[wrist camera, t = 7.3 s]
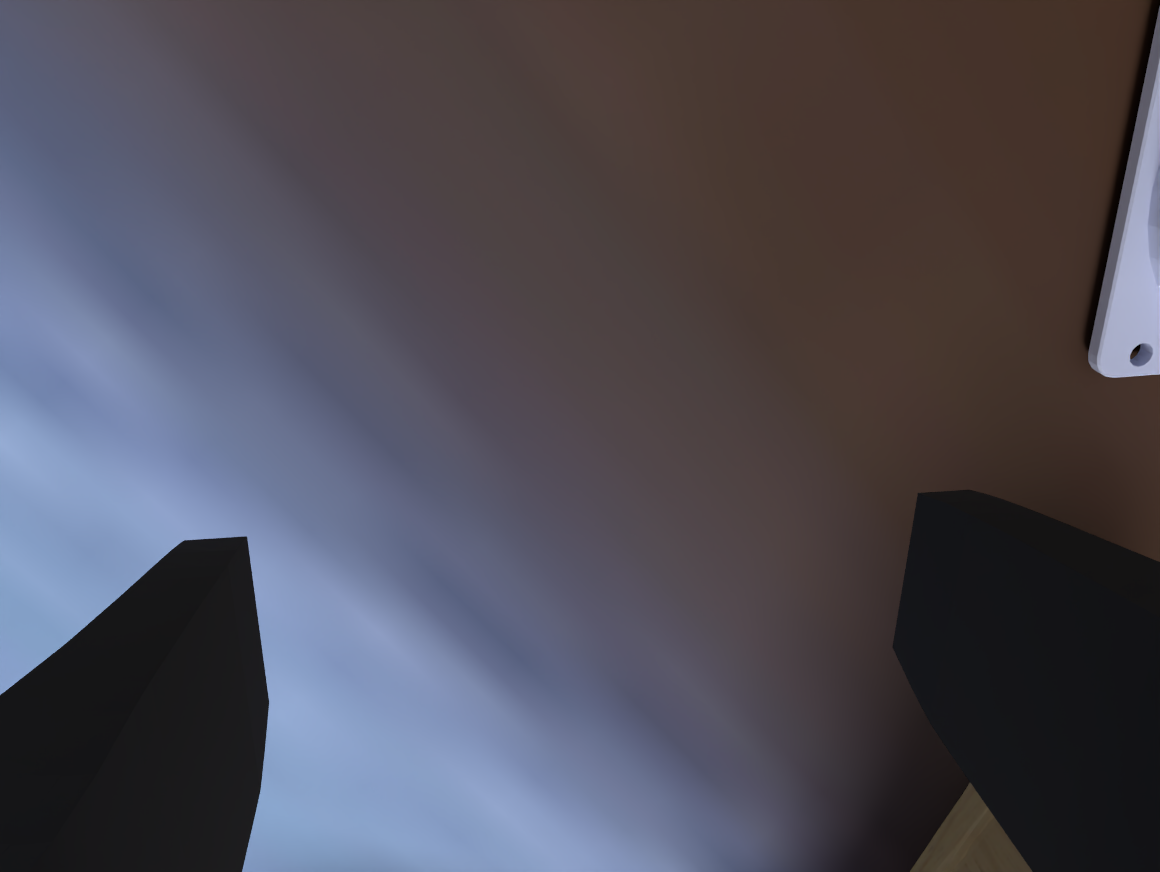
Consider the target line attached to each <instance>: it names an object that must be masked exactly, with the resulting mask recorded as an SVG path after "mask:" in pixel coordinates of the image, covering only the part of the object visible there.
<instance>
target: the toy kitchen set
mask: <svg viewBox="0 0 1160 872" xmlns="http://www.w3.org/2000/svg"><path fill="white" fill-rule="evenodd" d="M910 872H1032V870H1031V869H1030V867H1029V866H1028V865H1027V863H1026V862H1025V860H1024V859H1023V857H1022V856H1021V854H1020V853H1019V852H1018V850H1017V849H1016V847H1015V846H1014V844H1013V843H1012V842H1011V840H1010V839H1009V837H1008V836H1007V834H1006V833H1005V832H1004V830H1003V829H1002V827H1001V826H1000V824H999V823H998V822H997V820H996V819H995V817H994V816H993V814H992V813H991V811H990V810H989V809H988V807H987V806H986V804H985V803H984V801H983V800H982V799H981V797H980V796H979V794H978V793H977V791H976V790H975V789H974V787H973V786H972V784H971V783H969V785H968V786H967V788H966V789H965V791H964V792H963V794H962V796H961V797H960V799H959V800H958V801H957V803H956V804H955V806H954V807H953V809H952V810H951V812H950V813H949V815H948V816H947V817H946V819H945V820H944V822H943V823H942V825H941V826H940V828H939V829H938V831H937V832H936V834H935V835H934V836H933V838H932V840H931V841H930V843H929V844H928V846H927V847H926V849H925V850H924V852H923V853H922V854H921V856H920V857H919V859H918V860H917V862H916V863H915V865H914V866H913V868H912V869H911V871H910Z"/></svg>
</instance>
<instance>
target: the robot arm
mask: <svg viewBox="0 0 1160 872" xmlns="http://www.w3.org/2000/svg"><path fill="white" fill-rule="evenodd" d="M1139 344H1140V350H1139V352H1138V354H1137V355H1136V356H1135V357H1134V358H1133V359H1130V354H1131V352H1132V350H1133V349H1134V348H1135V347H1136V346H1137V345H1139ZM1088 361H1089V363H1090V365H1091V368H1093V369H1094V370H1096V371H1097V372H1099V373H1101V374H1102V375H1104V376H1106V377H1113V378H1115V377H1130V376H1144V375H1158V374H1160V7H1159V12H1158V17H1157V22H1156V27H1155V31H1154V36H1153V41H1152V46H1151V51H1150V56H1149V61H1148V66H1147V70H1146V75H1145V80H1144V85H1143V90H1142V95H1141V100H1140V104H1139V109H1138V114H1137V119H1136V124H1135V129H1134V134H1133V138H1132V143H1131V148H1130V153H1129V158H1128V163H1127V168H1126V172H1125V177H1124V182H1123V187H1122V192H1121V197H1120V202H1119V206H1118V211H1117V216H1116V221H1115V226H1114V231H1113V236H1112V241H1111V245H1110V250H1109V255H1108V260H1107V265H1106V270H1105V275H1104V279H1103V284H1102V289H1101V294H1100V299H1099V304H1098V309H1097V313H1096V318H1095V323H1094V328H1093V333H1092V338H1091V343H1090V347H1089V352H1088ZM893 649H894V651H895V653H896V655H897V657H898V660H899V662H900V664H901V666H902V668H903V670H904V672H905V674H906V677H907V679H908V681H909V683H910V685H911V687H912V689H913V691H914V693H915V695H916V697H917V699H918V701H919V703H920V705H921V707H922V709H923V710H924V712H925V714H926V716H927V718H928V720H929V722H930V724H931V725H932V727H933V728H934V730H935V731H936V733H937V734H938V736H939V737H940V739H941V740H942V742H943V743H944V745H945V746H946V748H947V749H948V751H949V752H950V754H951V755H952V756H953V758H954V759H955V761H956V762H957V764H958V765H959V767H960V768H961V770H962V771H963V773H964V774H965V776H966V777H967V778H968V780H969V781H970V783H971V784H972V786H973V787H974V789H975V790H976V791H977V793H978V794H979V796H980V797H981V799H982V800H983V801H984V803H985V804H986V806H987V807H988V809H989V810H990V811H991V813H992V814H993V816H994V817H995V819H996V820H997V822H998V823H999V824H1000V826H1001V827H1002V829H1003V830H1004V832H1005V833H1006V834H1007V836H1008V837H1009V839H1010V840H1011V842H1012V843H1013V844H1014V846H1015V847H1016V849H1017V850H1018V852H1019V853H1020V854H1021V856H1022V857H1023V859H1024V860H1025V862H1026V863H1027V865H1028V866H1029V867H1030V869H1031V870H1032V872H1160V562H1158V561H1156V560H1153V559H1151V558H1148V557H1146V556H1143V555H1141V554H1138V553H1136V552H1133V551H1131V550H1128V549H1126V548H1124V547H1121V546H1119V545H1116V544H1114V543H1111V542H1109V541H1106V540H1104V539H1102V538H1099V537H1097V536H1094V535H1092V534H1089V533H1087V532H1085V531H1082V530H1080V529H1077V528H1075V527H1072V526H1070V525H1067V524H1065V523H1063V522H1060V521H1058V520H1055V519H1053V518H1050V517H1048V516H1045V515H1043V514H1040V513H1038V512H1035V511H1032V510H1030V509H1027V508H1025V507H1022V506H1019V505H1017V504H1014V503H1011V502H1008V501H1005V500H1003V499H1000V498H997V497H993V496H990V495H987V494H983V493H980V492H976V491H972V490H959V491H944V492H928V493H918V497H917V503H916V509H915V515H914V521H913V527H912V533H911V539H910V545H909V551H908V557H907V563H906V569H905V575H904V581H903V587H902V594H901V600H900V606H899V612H898V618H897V624H896V630H895V636H894V642H893ZM268 708H269V699H268V691H267V684H266V676H265V669H264V661H263V654H262V646H261V639H260V631H259V624H258V616H257V609H256V601H255V594H254V586H253V579H252V571H251V564H250V556H249V549H248V541H247V537H231V538H216V539H201V540H185V541H183V542H181V543H180V544H179V545H178V546H176V547H175V548H174V549H173V550H171V551H170V552H169V553H168V554H167V555H166V556H164V557H163V558H162V559H161V560H160V561H159V562H158V563H157V564H155V565H154V566H153V567H152V568H151V569H150V570H149V571H148V572H147V573H146V574H144V575H143V576H142V577H141V578H140V579H139V580H138V581H137V582H136V583H134V584H133V585H132V586H131V587H130V588H129V589H128V590H127V591H126V592H125V593H123V594H122V595H121V596H120V597H119V598H118V599H117V600H115V601H114V602H113V603H112V604H111V605H110V606H109V607H107V608H106V609H105V610H104V611H103V612H102V613H101V614H99V615H98V616H97V617H96V618H95V619H94V620H93V621H91V622H90V623H89V624H88V625H87V626H86V627H85V628H83V629H82V630H81V631H80V632H79V633H78V634H77V635H75V636H74V637H73V638H72V639H71V640H70V641H68V642H67V643H66V644H65V645H64V646H62V647H61V648H60V649H59V650H57V651H56V652H55V653H53V654H52V655H51V656H50V657H48V658H47V659H46V660H45V661H43V662H42V663H41V664H40V665H38V666H37V667H36V668H34V669H33V670H32V671H31V672H29V673H28V674H27V675H26V676H24V677H23V678H22V679H20V680H19V681H18V682H17V683H15V684H14V685H13V686H12V687H10V688H9V689H8V690H6V691H5V692H4V693H3V694H1V695H0V872H242V869H243V865H244V860H245V856H246V852H247V847H248V843H249V839H250V834H251V830H252V825H253V821H254V817H255V812H256V808H257V803H258V799H259V794H260V789H261V780H262V771H263V761H264V752H265V741H266V730H267V719H268Z"/></svg>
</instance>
